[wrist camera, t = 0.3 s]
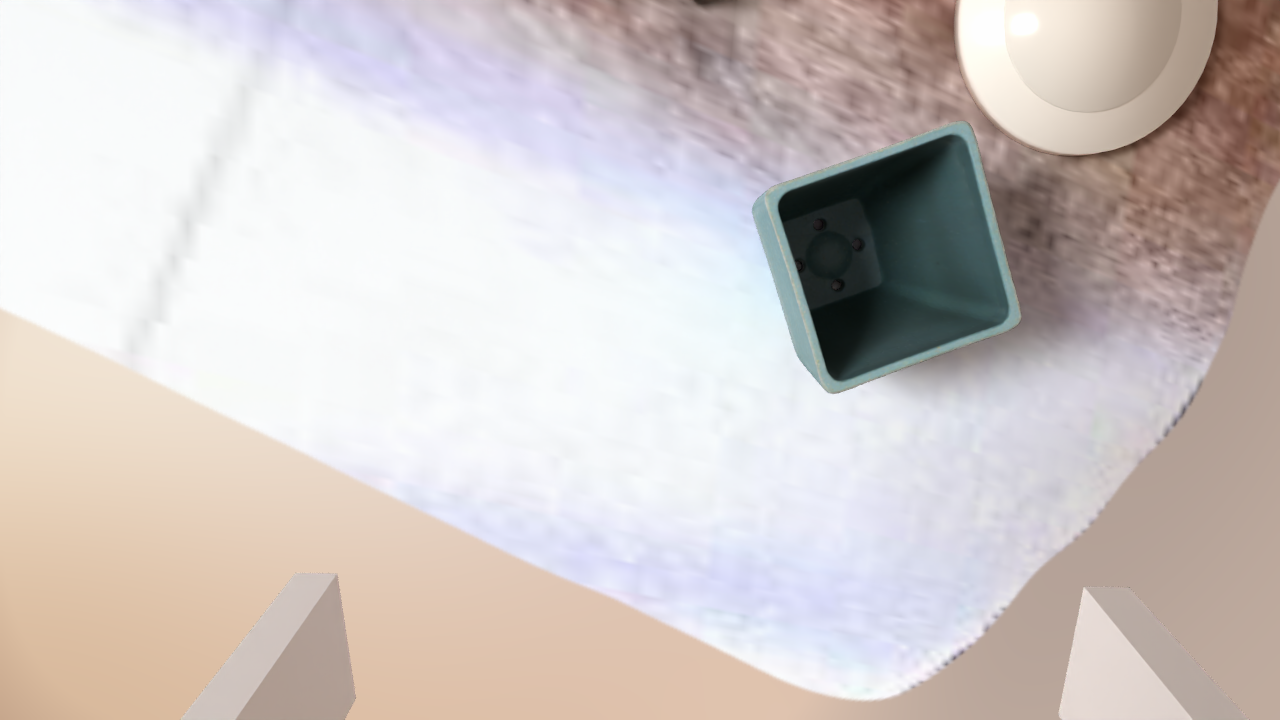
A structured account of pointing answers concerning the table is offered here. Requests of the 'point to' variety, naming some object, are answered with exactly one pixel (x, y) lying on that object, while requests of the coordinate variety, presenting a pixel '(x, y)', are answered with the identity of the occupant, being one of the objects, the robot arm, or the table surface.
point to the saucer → (1081, 67)
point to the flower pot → (889, 258)
